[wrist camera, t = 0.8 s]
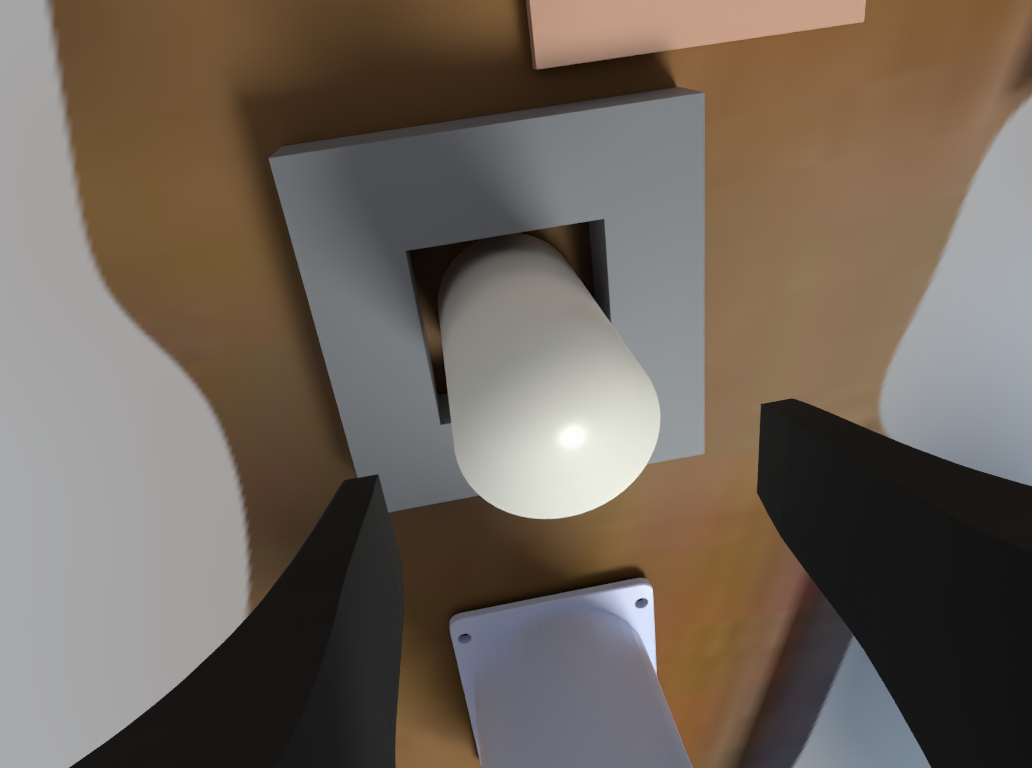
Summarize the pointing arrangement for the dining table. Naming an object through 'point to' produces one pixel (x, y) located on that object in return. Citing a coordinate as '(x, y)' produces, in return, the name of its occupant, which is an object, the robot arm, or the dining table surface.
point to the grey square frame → (488, 213)
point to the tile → (667, 25)
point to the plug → (539, 383)
